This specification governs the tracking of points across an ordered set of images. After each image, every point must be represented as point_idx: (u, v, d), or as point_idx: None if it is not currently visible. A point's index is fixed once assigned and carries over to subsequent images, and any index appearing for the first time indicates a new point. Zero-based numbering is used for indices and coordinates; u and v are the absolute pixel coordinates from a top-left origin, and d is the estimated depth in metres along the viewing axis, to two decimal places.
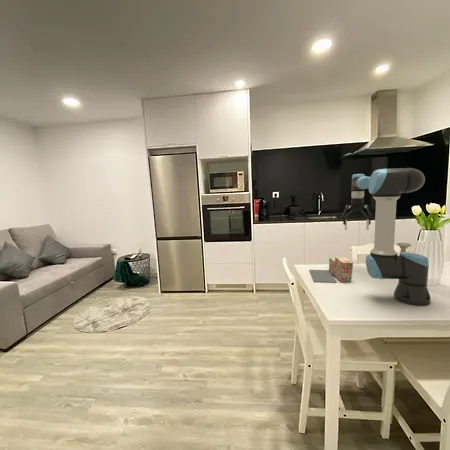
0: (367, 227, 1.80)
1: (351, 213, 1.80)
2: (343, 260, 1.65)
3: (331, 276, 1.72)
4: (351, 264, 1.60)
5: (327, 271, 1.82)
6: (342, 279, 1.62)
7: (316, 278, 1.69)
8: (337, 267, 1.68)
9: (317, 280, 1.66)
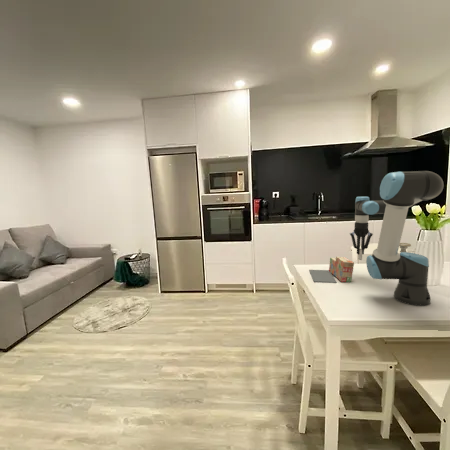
0: (360, 257, 1.68)
1: None
2: (344, 260, 1.65)
3: (331, 276, 1.72)
4: (352, 264, 1.61)
5: (327, 271, 1.82)
6: (342, 279, 1.62)
7: (316, 278, 1.69)
8: (338, 267, 1.68)
9: (317, 280, 1.66)
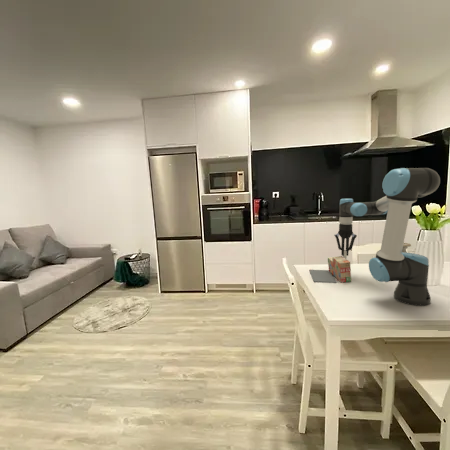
0: (345, 258, 1.70)
1: (344, 241, 1.68)
2: (340, 260, 1.64)
3: (331, 276, 1.72)
4: (348, 263, 1.60)
5: (327, 271, 1.82)
6: (342, 279, 1.62)
7: (316, 278, 1.69)
8: (336, 267, 1.67)
9: (317, 280, 1.66)
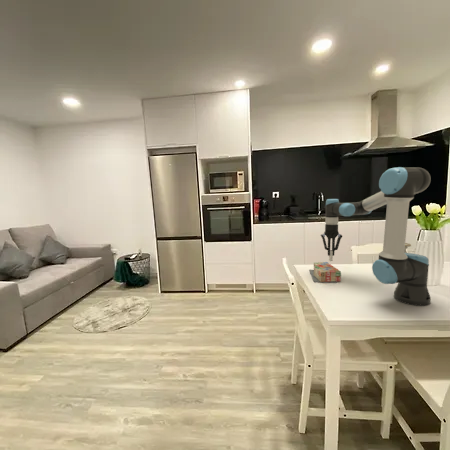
0: (331, 258, 1.71)
1: (330, 241, 1.70)
2: (317, 275, 1.66)
3: None
4: (322, 273, 1.62)
5: None
6: (337, 280, 1.62)
7: (316, 278, 1.69)
8: None
9: (317, 280, 1.66)
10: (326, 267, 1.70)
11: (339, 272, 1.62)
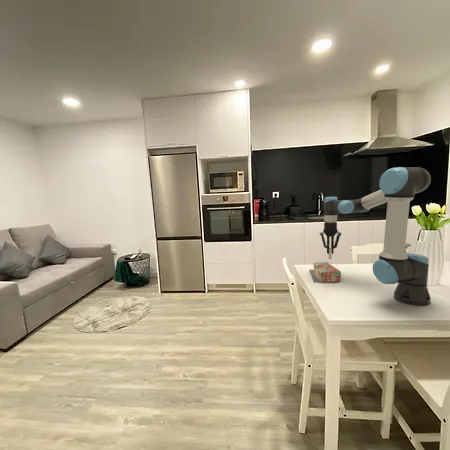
0: (330, 256, 1.71)
1: (329, 239, 1.69)
2: (317, 275, 1.66)
3: None
4: (322, 273, 1.62)
5: None
6: (337, 280, 1.62)
7: (316, 278, 1.69)
8: None
9: (317, 280, 1.66)
10: (326, 267, 1.70)
11: (339, 272, 1.62)
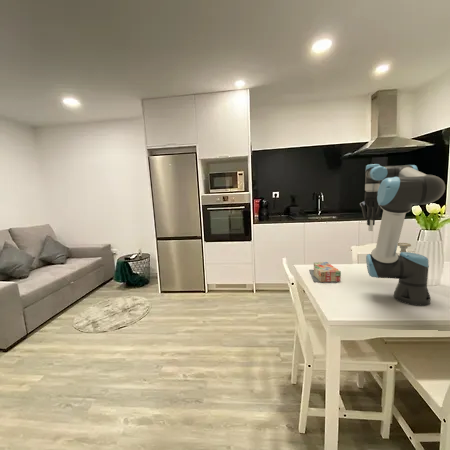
0: (371, 228, 1.61)
1: (370, 209, 1.60)
2: (317, 275, 1.66)
3: None
4: (322, 273, 1.62)
5: None
6: (337, 280, 1.62)
7: (316, 278, 1.69)
8: None
9: (317, 280, 1.66)
10: (326, 267, 1.70)
11: (339, 272, 1.62)
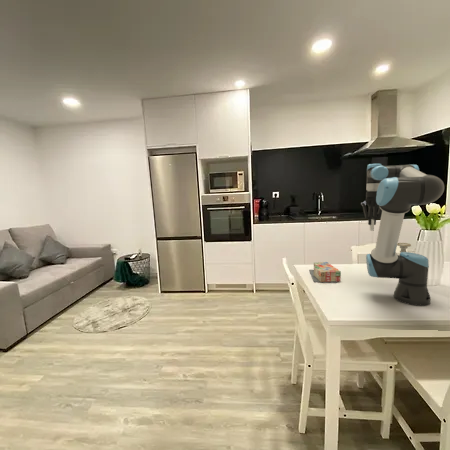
0: (372, 228, 1.61)
1: None
2: (317, 275, 1.66)
3: None
4: (322, 273, 1.62)
5: None
6: (337, 280, 1.62)
7: (316, 278, 1.69)
8: None
9: (317, 280, 1.66)
10: (326, 267, 1.70)
11: (339, 272, 1.62)
